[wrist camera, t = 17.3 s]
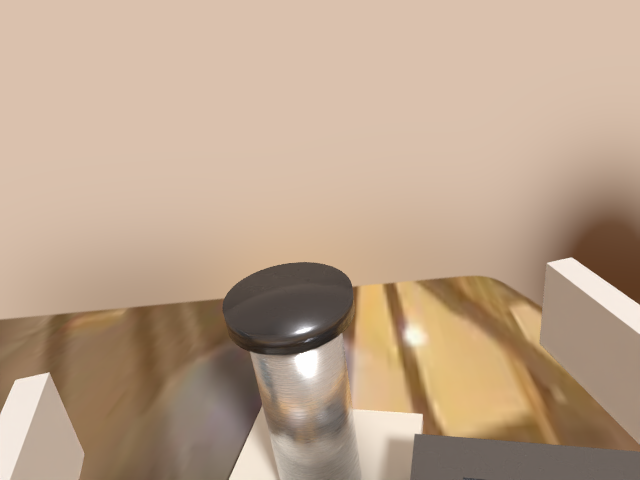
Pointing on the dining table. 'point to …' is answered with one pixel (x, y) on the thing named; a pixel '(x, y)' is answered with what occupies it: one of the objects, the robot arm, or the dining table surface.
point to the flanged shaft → (300, 365)
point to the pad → (372, 438)
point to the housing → (516, 461)
